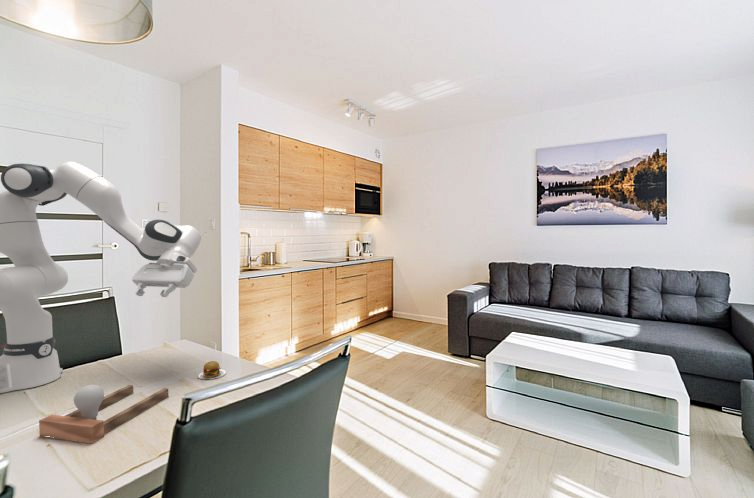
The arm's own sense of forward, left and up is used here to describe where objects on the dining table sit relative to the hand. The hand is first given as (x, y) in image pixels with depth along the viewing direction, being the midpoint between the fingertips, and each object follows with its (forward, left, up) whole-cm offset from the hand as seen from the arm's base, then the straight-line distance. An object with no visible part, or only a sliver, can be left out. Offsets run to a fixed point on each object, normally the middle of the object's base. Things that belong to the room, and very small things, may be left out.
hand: (150, 295), depth 121 cm
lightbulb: (+7, -27, -29) cm, 41 cm away
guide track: (+6, -21, -29) cm, 36 cm away
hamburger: (+15, +9, -30) cm, 35 cm away
